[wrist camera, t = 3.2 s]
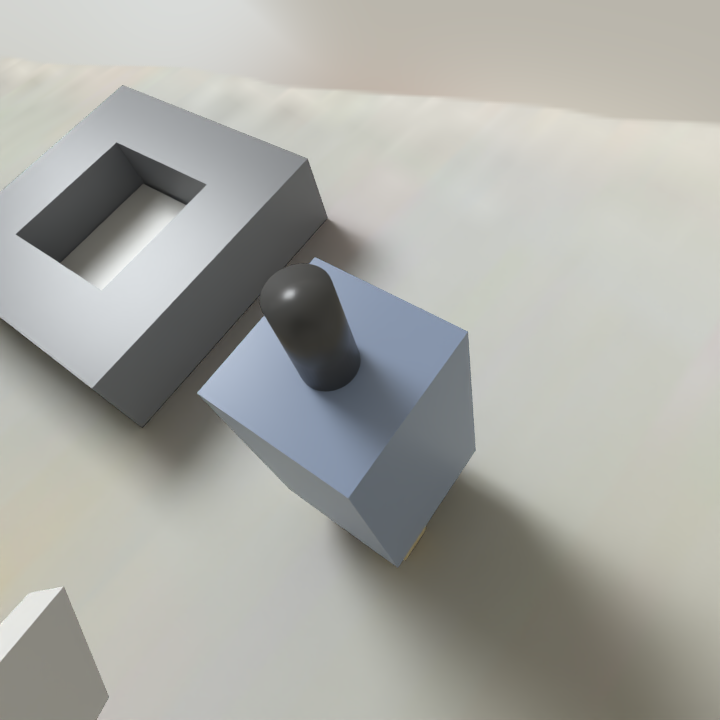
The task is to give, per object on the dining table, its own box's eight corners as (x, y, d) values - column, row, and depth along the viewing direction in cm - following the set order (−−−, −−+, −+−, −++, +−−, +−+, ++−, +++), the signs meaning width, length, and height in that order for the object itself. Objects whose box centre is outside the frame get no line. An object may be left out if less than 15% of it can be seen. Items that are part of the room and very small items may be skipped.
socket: (-18, 303, 33) (-77, 258, 30) (156, 141, 37) (122, 85, 34) (142, 427, 27) (91, 388, 24) (327, 217, 31) (307, 158, 28)
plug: (302, 502, 24) (137, 331, 13) (374, 405, 25) (282, 177, 14) (404, 577, 22) (313, 450, 11) (476, 466, 23) (462, 254, 12)
